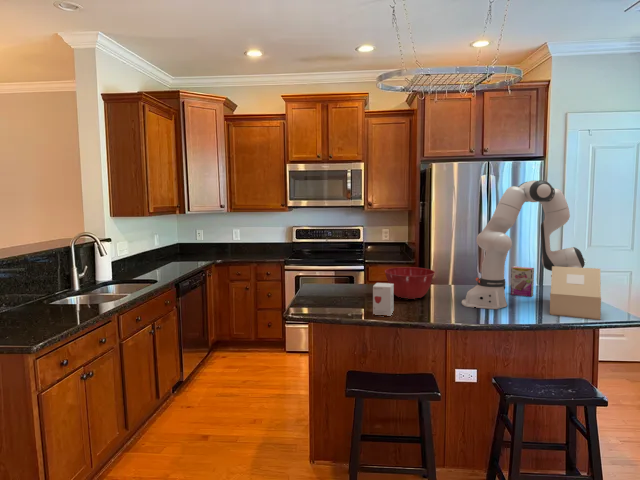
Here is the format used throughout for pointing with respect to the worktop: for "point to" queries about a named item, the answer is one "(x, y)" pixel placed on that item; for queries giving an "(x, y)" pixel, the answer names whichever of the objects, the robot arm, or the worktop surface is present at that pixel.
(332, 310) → the worktop surface
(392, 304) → the supplement box
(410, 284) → the mixing bowl
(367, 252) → the worktop surface
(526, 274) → the candy bar box
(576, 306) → the carton
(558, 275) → the carton flap
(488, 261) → the robot arm
